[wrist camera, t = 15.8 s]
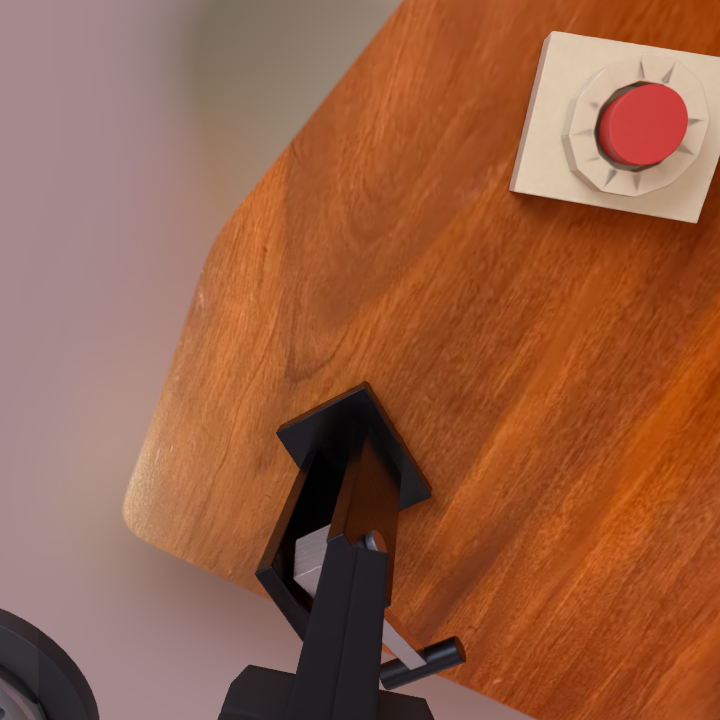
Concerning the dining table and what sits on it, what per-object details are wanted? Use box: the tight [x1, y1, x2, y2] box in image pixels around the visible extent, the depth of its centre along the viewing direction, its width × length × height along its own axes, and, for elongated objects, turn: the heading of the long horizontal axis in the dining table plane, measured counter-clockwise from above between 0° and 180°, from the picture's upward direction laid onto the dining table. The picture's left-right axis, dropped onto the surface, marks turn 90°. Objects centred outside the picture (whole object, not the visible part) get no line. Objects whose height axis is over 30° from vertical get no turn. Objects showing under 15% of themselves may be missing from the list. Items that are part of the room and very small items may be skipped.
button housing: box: [509, 31, 720, 223], centre depth 31 cm, size 10×8×4 cm
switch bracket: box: [255, 381, 431, 642], centre depth 34 cm, size 9×7×14 cm
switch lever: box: [293, 524, 466, 690], centre depth 32 cm, size 12×5×2 cm, turn 31°
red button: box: [599, 84, 688, 166], centre depth 29 cm, size 4×4×2 cm
